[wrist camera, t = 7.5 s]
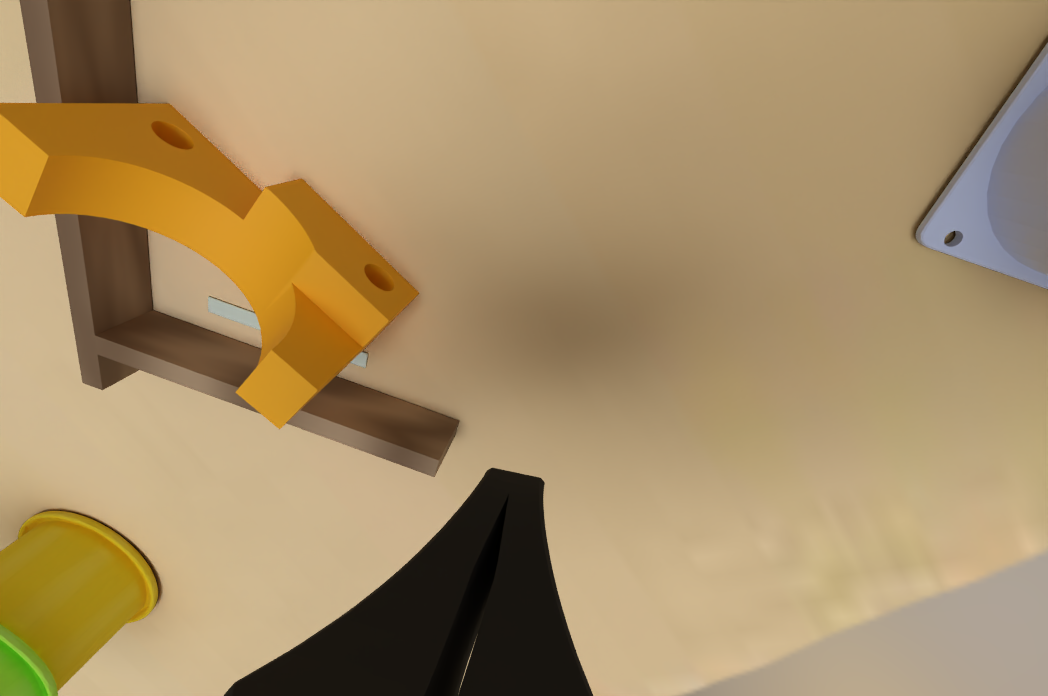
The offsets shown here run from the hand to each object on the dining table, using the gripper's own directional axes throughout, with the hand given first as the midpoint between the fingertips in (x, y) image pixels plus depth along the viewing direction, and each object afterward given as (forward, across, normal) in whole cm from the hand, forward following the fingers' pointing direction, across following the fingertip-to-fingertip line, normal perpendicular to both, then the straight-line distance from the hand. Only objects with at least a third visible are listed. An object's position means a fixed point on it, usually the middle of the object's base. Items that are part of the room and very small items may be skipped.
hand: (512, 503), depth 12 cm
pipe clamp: (+10, +12, -3) cm, 16 cm away
